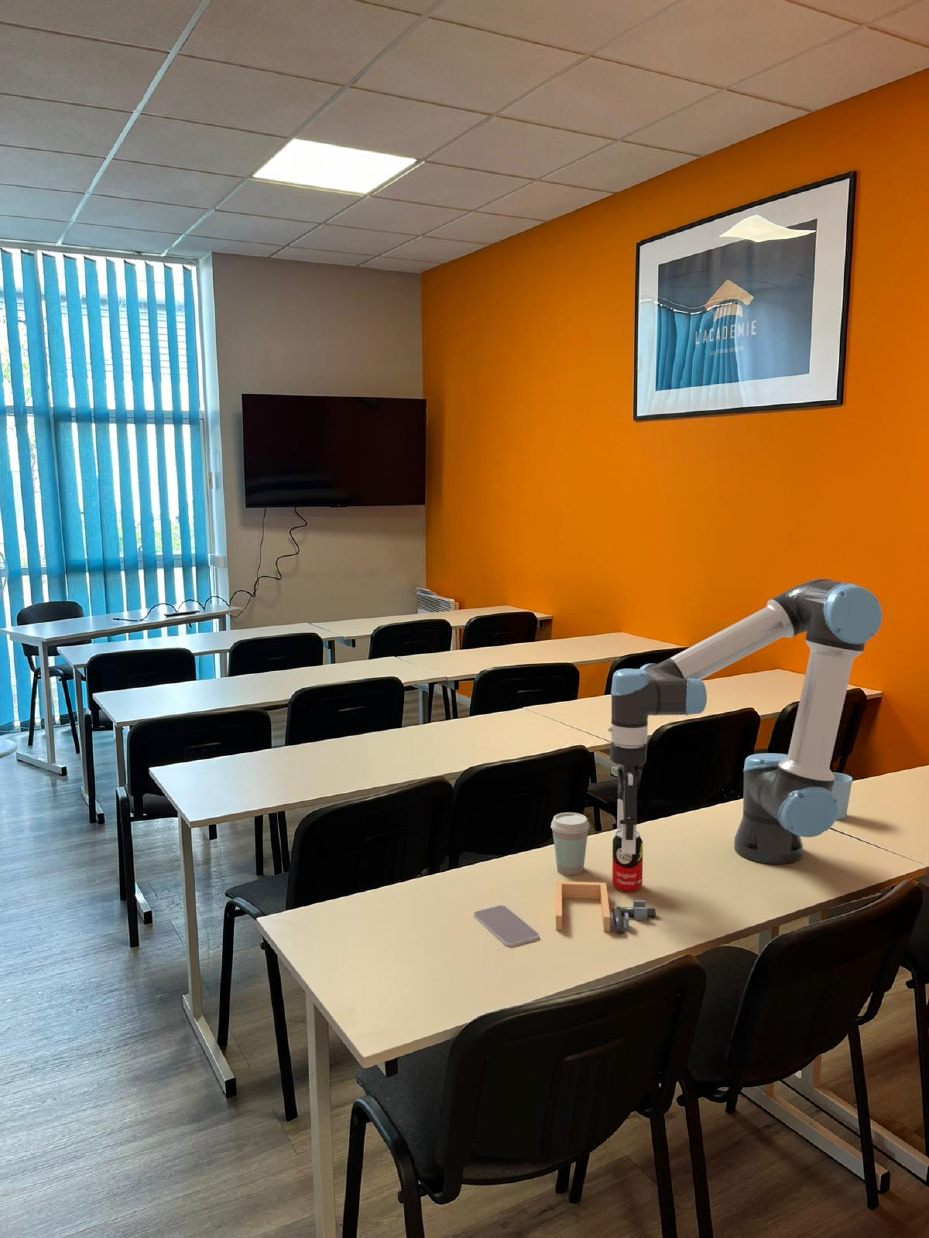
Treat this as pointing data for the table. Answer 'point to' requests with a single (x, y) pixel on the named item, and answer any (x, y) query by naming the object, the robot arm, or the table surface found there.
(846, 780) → the cup
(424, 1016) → the table surface
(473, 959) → the table surface
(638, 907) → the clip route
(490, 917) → the smartphone
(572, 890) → the end holder
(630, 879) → the beverage can
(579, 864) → the coffee cup
